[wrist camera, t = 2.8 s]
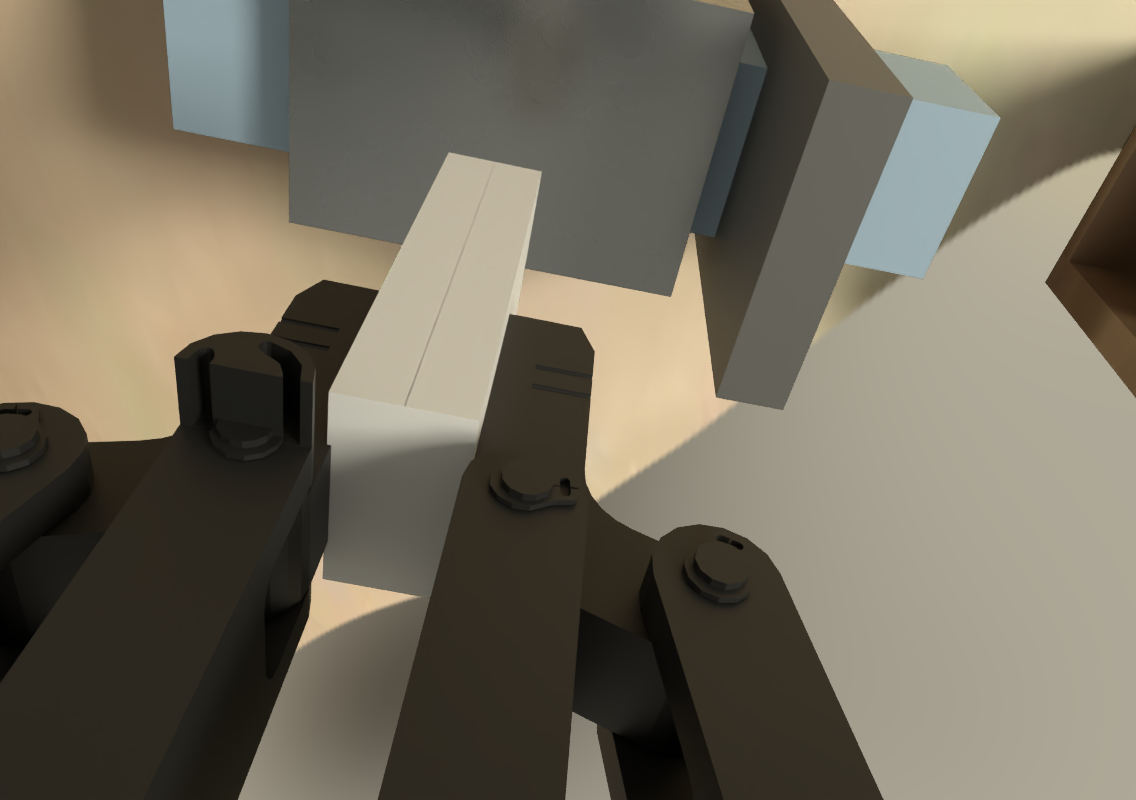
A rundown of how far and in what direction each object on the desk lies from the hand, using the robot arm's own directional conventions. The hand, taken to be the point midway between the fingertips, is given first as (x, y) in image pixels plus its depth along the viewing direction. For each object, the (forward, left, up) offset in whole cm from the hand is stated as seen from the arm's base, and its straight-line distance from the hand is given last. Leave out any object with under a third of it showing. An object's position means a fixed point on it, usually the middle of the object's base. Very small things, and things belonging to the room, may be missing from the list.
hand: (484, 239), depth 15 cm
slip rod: (+1, 0, -11) cm, 11 cm away
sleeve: (0, 0, -11) cm, 11 cm away
